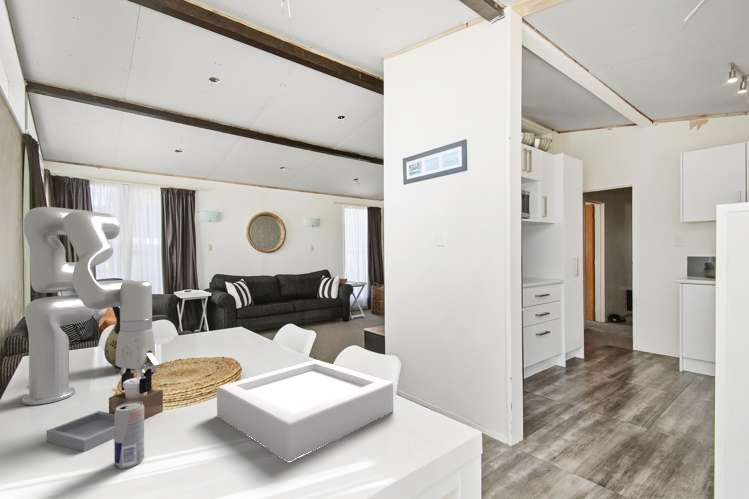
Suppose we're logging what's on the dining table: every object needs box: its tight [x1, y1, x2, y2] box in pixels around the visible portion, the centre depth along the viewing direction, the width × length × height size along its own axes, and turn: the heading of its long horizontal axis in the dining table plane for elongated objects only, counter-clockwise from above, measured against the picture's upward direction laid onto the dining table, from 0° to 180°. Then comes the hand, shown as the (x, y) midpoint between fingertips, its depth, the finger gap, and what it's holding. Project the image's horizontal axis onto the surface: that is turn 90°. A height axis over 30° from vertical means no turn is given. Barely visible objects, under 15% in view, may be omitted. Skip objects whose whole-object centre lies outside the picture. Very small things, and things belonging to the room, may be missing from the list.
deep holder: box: [108, 388, 164, 421], centre depth 103 cm, size 9×9×6 cm
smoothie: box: [123, 369, 147, 400], centre depth 103 cm, size 6×6×14 cm
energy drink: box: [113, 402, 145, 470], centre depth 80 cm, size 5×5×12 cm
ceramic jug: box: [103, 306, 135, 373], centre depth 146 cm, size 17×15×30 cm
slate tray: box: [45, 410, 114, 452], centre depth 92 cm, size 14×12×2 cm
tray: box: [216, 359, 394, 462], centre depth 103 cm, size 35×35×9 cm
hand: (136, 389), depth 103 cm, fingers closed on smoothie, 6 cm apart
